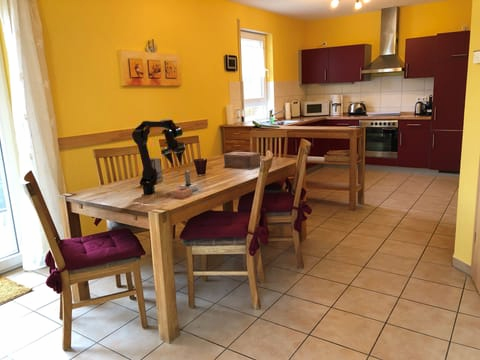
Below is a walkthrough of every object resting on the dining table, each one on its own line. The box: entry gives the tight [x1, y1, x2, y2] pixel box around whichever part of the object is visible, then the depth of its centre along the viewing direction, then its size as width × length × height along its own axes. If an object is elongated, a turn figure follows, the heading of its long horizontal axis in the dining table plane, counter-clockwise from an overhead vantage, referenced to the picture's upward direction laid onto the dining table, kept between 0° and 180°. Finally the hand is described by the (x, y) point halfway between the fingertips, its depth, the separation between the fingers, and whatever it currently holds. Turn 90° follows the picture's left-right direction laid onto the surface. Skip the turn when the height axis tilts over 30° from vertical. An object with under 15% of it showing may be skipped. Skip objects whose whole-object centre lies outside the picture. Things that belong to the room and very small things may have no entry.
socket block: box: [178, 182, 199, 192], centre depth 234 cm, size 8×8×4 cm
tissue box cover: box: [223, 151, 262, 169], centre depth 313 cm, size 26×14×10 cm, turn 56°
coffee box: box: [150, 157, 164, 184], centre depth 267 cm, size 9×6×16 cm
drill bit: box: [184, 170, 192, 186], centre depth 233 cm, size 3×3×12 cm
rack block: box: [172, 187, 193, 198], centre depth 223 cm, size 8×8×4 cm
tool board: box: [162, 188, 207, 200], centre depth 229 cm, size 22×16×1 cm
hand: (176, 163), depth 248 cm, fingers open, 9 cm apart
